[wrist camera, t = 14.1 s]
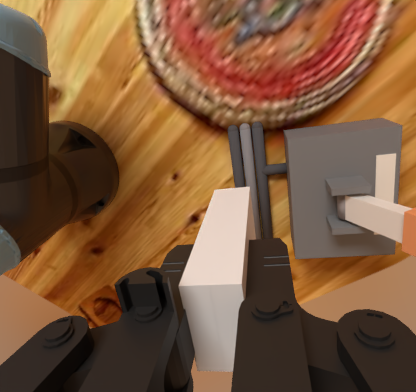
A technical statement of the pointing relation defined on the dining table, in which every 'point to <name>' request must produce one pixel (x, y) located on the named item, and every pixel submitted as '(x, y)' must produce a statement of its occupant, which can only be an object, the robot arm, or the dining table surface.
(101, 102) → the dining table surface
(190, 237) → the dining table surface
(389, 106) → the dining table surface
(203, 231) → the robot arm
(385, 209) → the toggle lever
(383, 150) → the switch block
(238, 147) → the cable bundle
